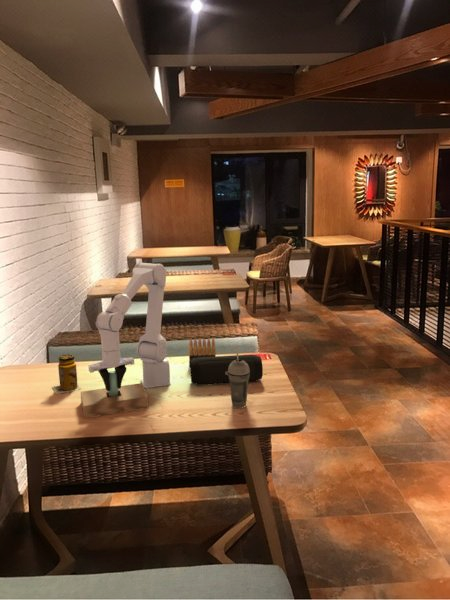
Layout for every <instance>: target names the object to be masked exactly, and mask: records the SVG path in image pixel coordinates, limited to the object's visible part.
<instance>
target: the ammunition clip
mask: <svg viewBox="0 0 450 600" xmlns="http://www.w3.org/2000/svg"><path fill="white" fill-rule="evenodd" d="M206 341H207V342H206ZM216 354H217V352H216V341H215V338H214V337H212V339H210V337H208V338H207V340H206V338H205V337H204V338H203V340H201V337H198V341H197V338H196V337H194V340H193V339H192V338H191V337H190V338H189V347H188V358H189V360H188V362H189V363H188V368H189V369H190V360H192V359H195V358H197V357H215V356H216Z"/></svg>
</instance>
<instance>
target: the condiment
mask: <svg viewBox="0 0 450 600" xmlns="http://www.w3.org/2000/svg"><path fill="white" fill-rule="evenodd" d="M57 368H58V369H57V370H58V379H59V385H54V386H51V389H52V390H53V391H54V392H55V394H57V395H60V394H63V393H64V394H65V393H68V392H69V393H70V392H73V391H78V390H81V389H82V388H81V387H80V386H79V385H78V384H79V383H78V372H77V363H76V359H75V356H74V354H70V353H69V354H67V353H66V354H61V355H60V356H59V357H58V366H57Z"/></svg>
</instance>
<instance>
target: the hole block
mask: <svg viewBox="0 0 450 600" xmlns="http://www.w3.org/2000/svg"><path fill="white" fill-rule="evenodd" d="M80 401H81V402H80V403H81V407H82V412H83V413H82V414H83V417H84V419H87V418H93V417H94V418H95V417H100V416H105V415H106V416H107V415H114V414H119V413H125V412H131V411H138V410H143V409H149V396H148V394H147V392H146V390H145V388H144V386H143V384H142V382H141V383H132V384H124V385H121V388H120V389H118V396H116V397H109V391H107V390H106V387H105V388H98V389H91V390H84V391H80Z"/></svg>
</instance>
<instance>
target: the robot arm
mask: <svg viewBox="0 0 450 600" xmlns="http://www.w3.org/2000/svg"><path fill="white" fill-rule="evenodd" d="M166 280H167V269H166V268H165V267H164V265H163V264H162V263H148V262H141V261H139V262H137V263H136V264H135V265H134V267H133V269H132V276H131V278H130V280H129V281H128V283H127V285H126V286H125V288H124V290H123V291H122V293H118V294H116V295H115V296H114V297H113V300H112V301H111V302H110V304H109V305H108V306H107V308H106V309H105V311H102V312H100V313H99V314H98V315H97V317H96V319H95V320H96V321H95V326H96V328H97V329H98V334H99V335H100V343H101V345H100V346H101V359H102V361H99V362H96V363H93V364H89V365H88V372H89V373H90V374H93V373H95V372H98V374H99V375H100V377H101V378H102V381H103V383H104V387H105V388H106V390H107V391H110V384H109V376H110V373H109V372H110V371H109V370H108V369H112V368H114V371H116V372H117V383H118V389H120V388H121V386H122V383H123V378H124V376H125V374H126V372H127V367H126V366H128V365H129V366H131V365H132V366H133V365H135V358H133V357H121V345H120V343H121V342H120V329H122V326H123V322H124V321H123V320H124V319H125V315H126V314H127V312H128V310H130V308H131V306H132V304H133V303H132V299H133V298H134V296H136V294H137V293H138V292H139V291H140V289H141V288H142V286H145V287H146V288H147V290H148V296H147V297H148V298H147V299H148V300H147V309H146V310H147V311H146V322H145V333H144V334H142V335H141V336H140V337H139V340H138V344H137V347H136V355H137V356H138V357H139V358H140V361H142V362H141V363H142V379H140V382H141V385H142V386H143V388H144V389H149V388H150V389H151V388H157V387H163V386H170V385H172V384H171V375H170V374H171V373H170V372H171V371H170V370H171V369H170V363H169V360H168V358H166V357H167V354H168V348H167V339H166V338H165V337H164V336H163V335H162V334H161V328H162V317H163V307H164V306H163V305H164V294H165V287H166Z"/></svg>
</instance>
